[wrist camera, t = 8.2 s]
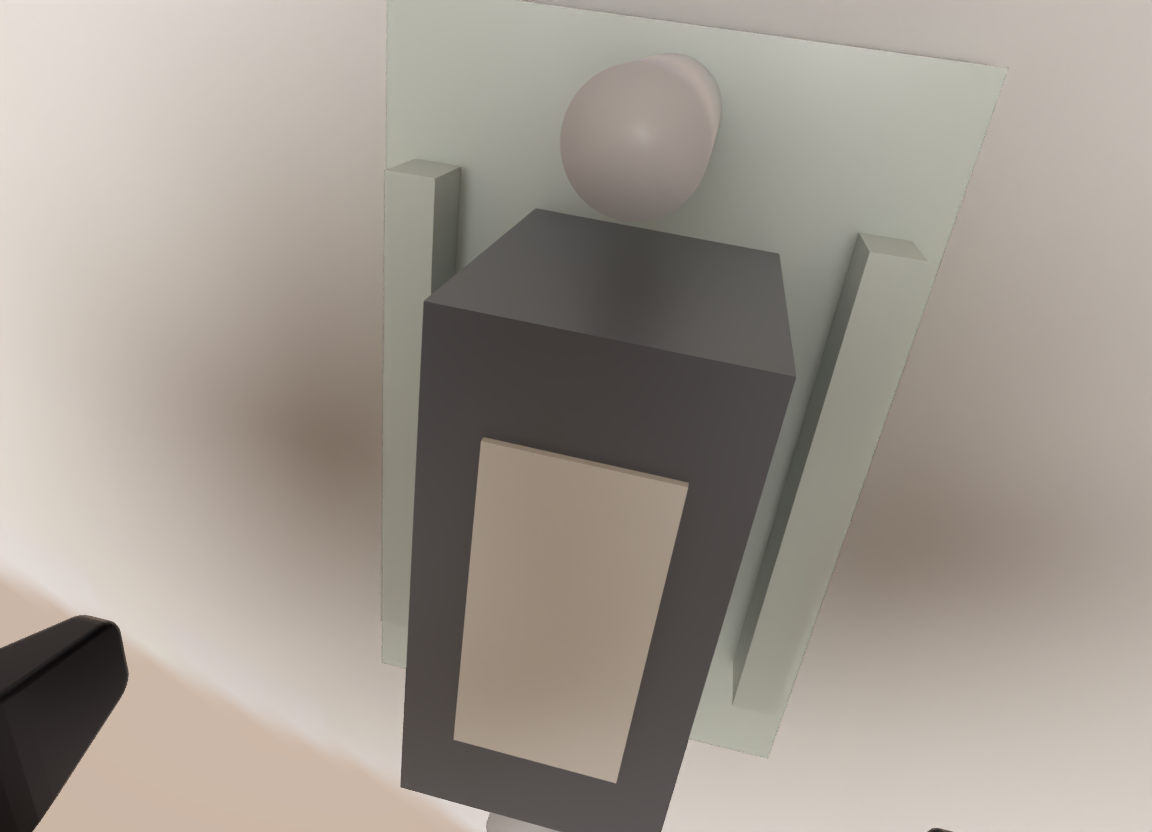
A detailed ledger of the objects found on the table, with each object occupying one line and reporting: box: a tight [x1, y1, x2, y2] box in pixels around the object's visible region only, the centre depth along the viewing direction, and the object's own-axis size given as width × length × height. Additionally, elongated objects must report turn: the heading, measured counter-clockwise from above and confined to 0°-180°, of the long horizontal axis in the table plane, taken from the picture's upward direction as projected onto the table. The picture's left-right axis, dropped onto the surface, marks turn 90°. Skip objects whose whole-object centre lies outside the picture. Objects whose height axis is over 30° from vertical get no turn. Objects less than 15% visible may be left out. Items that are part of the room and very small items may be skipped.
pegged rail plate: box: [381, 0, 1008, 832], centre depth 13 cm, size 9×14×5 cm, turn 173°
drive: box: [401, 208, 796, 832], centre depth 12 cm, size 4×8×5 cm, turn 172°
